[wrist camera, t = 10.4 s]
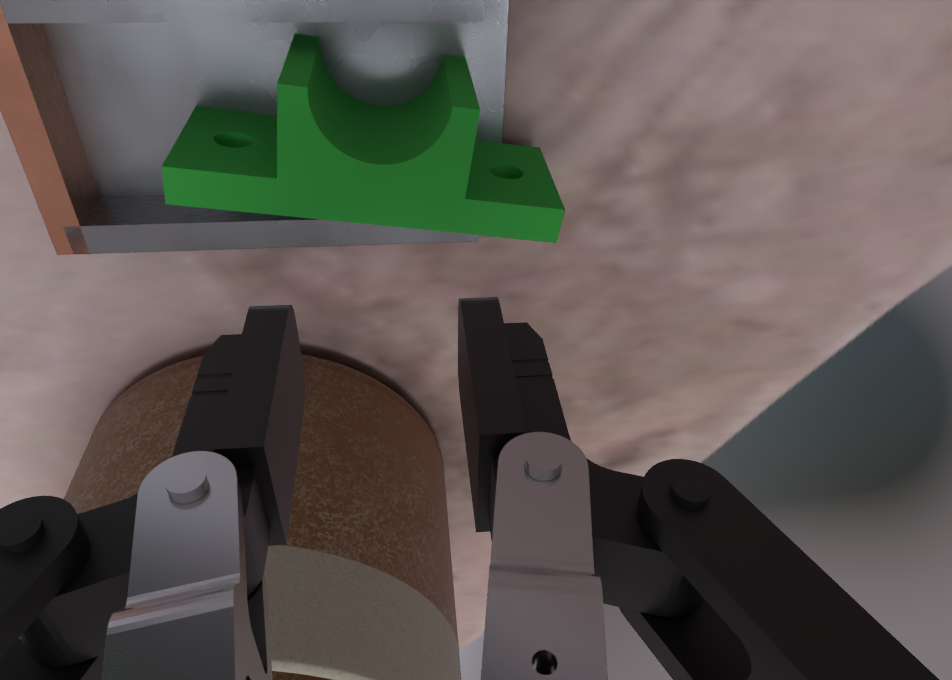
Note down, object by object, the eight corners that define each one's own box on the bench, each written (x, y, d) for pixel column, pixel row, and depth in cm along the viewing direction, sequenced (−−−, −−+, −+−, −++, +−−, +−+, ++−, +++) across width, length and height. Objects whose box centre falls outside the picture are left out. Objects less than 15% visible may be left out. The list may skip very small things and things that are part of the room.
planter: (506, 418, 34) (563, 722, 23) (349, 595, 41) (336, 886, 31) (164, 278, 27) (21, 608, 17) (52, 518, 35) (-96, 852, 24)
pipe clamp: (556, 69, 23) (590, 124, 20) (532, 176, 25) (558, 243, 22) (188, 17, 21) (149, 68, 17) (196, 139, 23) (164, 207, 20)
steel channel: (-37, -83, 20) (-90, -64, 17) (508, -78, 21) (522, -60, 19) (79, 238, 26) (51, 281, 24) (495, 225, 27) (505, 265, 25)
